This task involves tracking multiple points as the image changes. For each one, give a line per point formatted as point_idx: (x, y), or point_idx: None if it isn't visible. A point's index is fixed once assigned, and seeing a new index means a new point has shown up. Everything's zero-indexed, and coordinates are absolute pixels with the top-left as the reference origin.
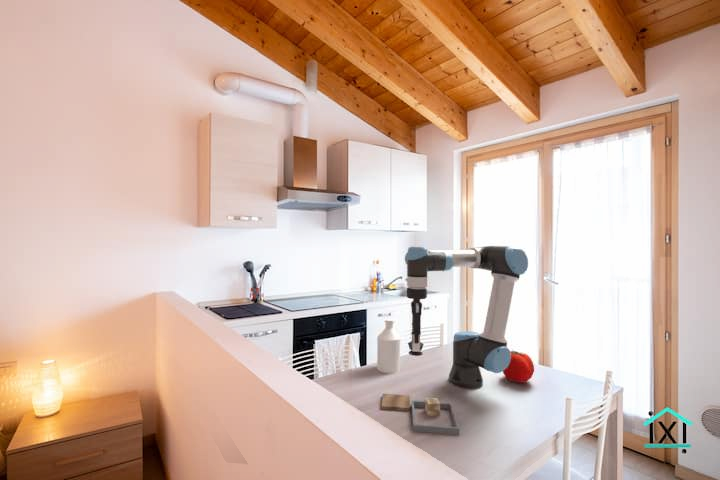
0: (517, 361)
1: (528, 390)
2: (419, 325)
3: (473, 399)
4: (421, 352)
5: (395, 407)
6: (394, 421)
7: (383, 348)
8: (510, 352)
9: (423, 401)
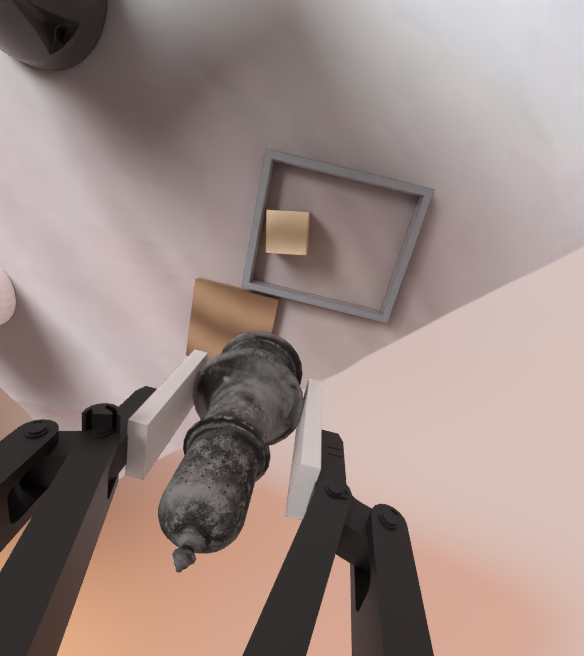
0: None
1: None
2: (422, 626)
3: (202, 21)
4: (266, 342)
5: None
6: (330, 352)
7: None
8: None
9: (250, 250)
